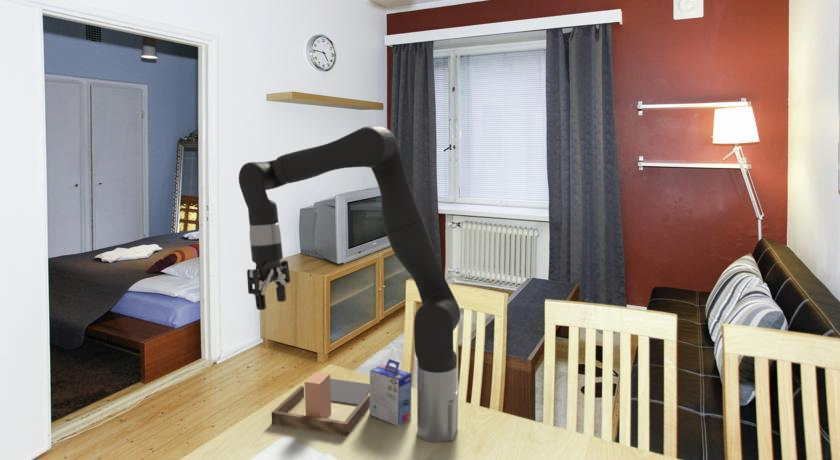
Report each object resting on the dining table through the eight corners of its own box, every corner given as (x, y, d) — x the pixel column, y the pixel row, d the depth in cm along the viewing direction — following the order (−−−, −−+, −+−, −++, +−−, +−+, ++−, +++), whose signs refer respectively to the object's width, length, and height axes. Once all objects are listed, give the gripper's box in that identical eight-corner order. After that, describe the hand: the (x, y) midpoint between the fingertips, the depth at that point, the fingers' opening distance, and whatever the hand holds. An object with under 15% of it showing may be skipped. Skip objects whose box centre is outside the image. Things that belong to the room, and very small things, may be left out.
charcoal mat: (374, 385, 158) (374, 384, 158) (358, 405, 146) (358, 404, 146) (329, 379, 161) (329, 378, 161) (310, 398, 150) (310, 397, 150)
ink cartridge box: (412, 418, 140) (412, 364, 138) (398, 427, 136) (398, 371, 133) (383, 406, 146) (382, 354, 143) (368, 415, 142) (368, 361, 139)
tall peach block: (331, 414, 142) (330, 373, 140) (320, 425, 136) (319, 383, 134) (316, 411, 143) (315, 371, 141) (306, 423, 137) (304, 381, 135)
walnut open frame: (369, 406, 146) (369, 395, 145) (347, 435, 132) (346, 424, 131) (300, 396, 151) (300, 386, 151) (271, 423, 137) (271, 412, 137)
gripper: (260, 246, 131) (267, 313, 133) (294, 237, 145) (300, 298, 146) (234, 246, 134) (241, 312, 136) (270, 238, 147) (276, 298, 149)
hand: (272, 305), depth 141 cm, fingers open, 8 cm apart
